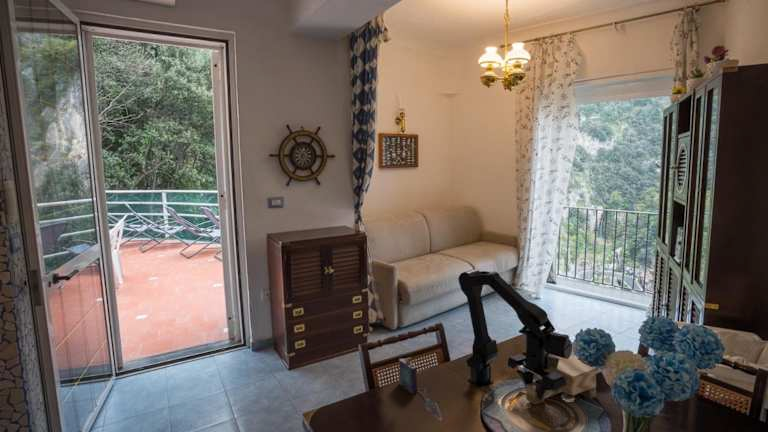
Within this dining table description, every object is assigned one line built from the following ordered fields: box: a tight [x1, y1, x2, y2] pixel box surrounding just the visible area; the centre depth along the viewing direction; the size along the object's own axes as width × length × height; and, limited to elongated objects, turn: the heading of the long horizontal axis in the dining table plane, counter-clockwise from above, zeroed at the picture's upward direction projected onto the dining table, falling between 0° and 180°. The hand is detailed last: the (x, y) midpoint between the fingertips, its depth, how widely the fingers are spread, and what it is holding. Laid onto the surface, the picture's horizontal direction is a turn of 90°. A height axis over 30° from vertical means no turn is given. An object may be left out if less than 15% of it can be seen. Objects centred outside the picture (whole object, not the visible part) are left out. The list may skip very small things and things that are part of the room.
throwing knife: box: [416, 387, 443, 422], centre depth 130 cm, size 4×20×1 cm, turn 14°
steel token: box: [560, 392, 576, 401], centre depth 129 cm, size 4×4×1 cm
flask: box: [398, 357, 418, 395], centre depth 140 cm, size 9×3×11 cm, turn 30°
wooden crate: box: [536, 354, 598, 400], centre depth 133 cm, size 12×15×10 cm
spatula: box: [525, 381, 564, 405], centre depth 131 cm, size 16×4×5 cm, turn 117°
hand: (535, 396), depth 128 cm, fingers closed on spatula, 3 cm apart
